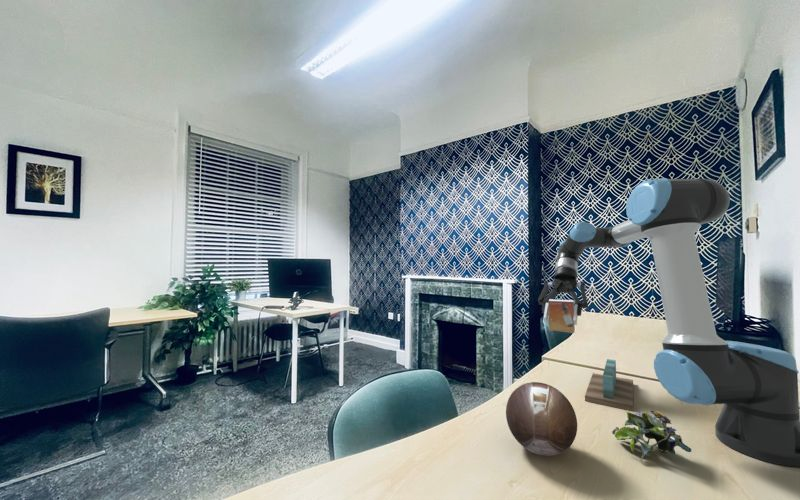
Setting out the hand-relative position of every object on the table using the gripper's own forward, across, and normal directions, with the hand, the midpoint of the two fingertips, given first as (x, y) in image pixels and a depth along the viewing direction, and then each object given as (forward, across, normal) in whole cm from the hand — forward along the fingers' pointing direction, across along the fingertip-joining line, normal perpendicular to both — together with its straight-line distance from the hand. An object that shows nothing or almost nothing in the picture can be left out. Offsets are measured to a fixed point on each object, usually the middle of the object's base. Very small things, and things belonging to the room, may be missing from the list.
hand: (559, 321), depth 110 cm
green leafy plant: (+37, -22, +5) cm, 44 cm away
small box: (0, 0, -5) cm, 5 cm away
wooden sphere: (+46, -2, +13) cm, 48 cm away
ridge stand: (+12, -14, -20) cm, 27 cm away
